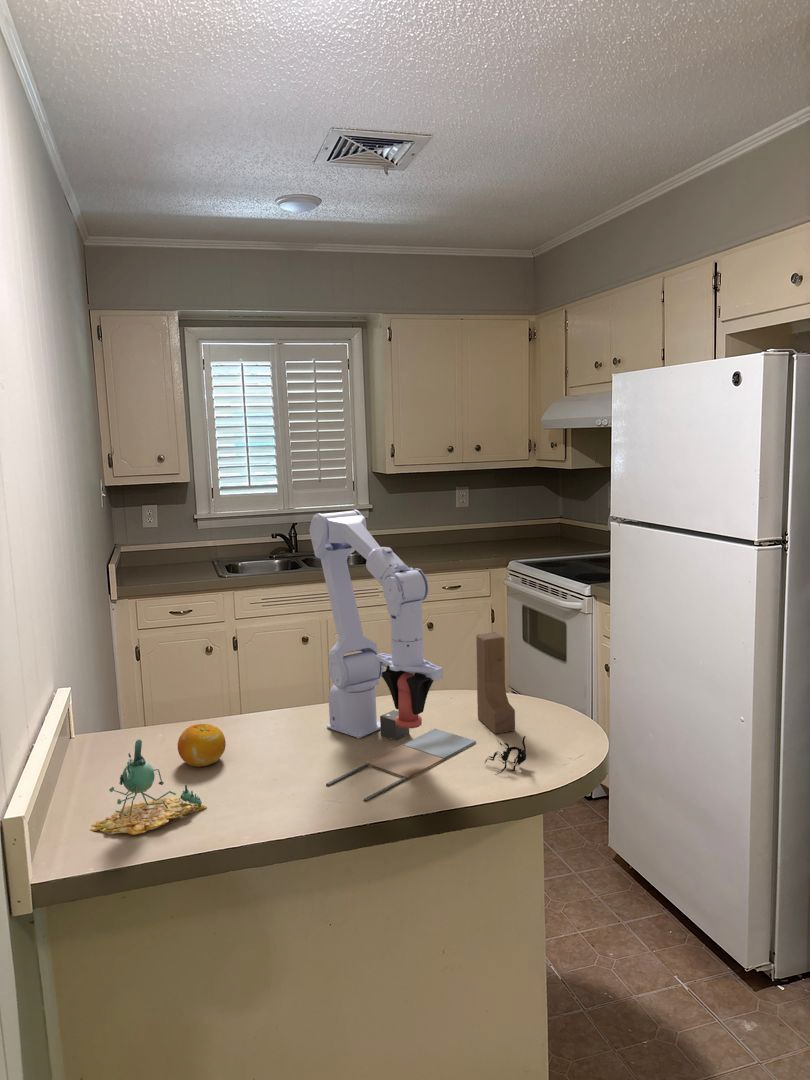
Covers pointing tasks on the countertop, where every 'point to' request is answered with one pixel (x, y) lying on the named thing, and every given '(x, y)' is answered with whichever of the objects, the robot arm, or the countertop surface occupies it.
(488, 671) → the wooden block
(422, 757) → the board
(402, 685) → the pawn
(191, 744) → the fruit
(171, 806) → the teal figurine on bark
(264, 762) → the countertop surface
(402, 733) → the die
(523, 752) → the creature
